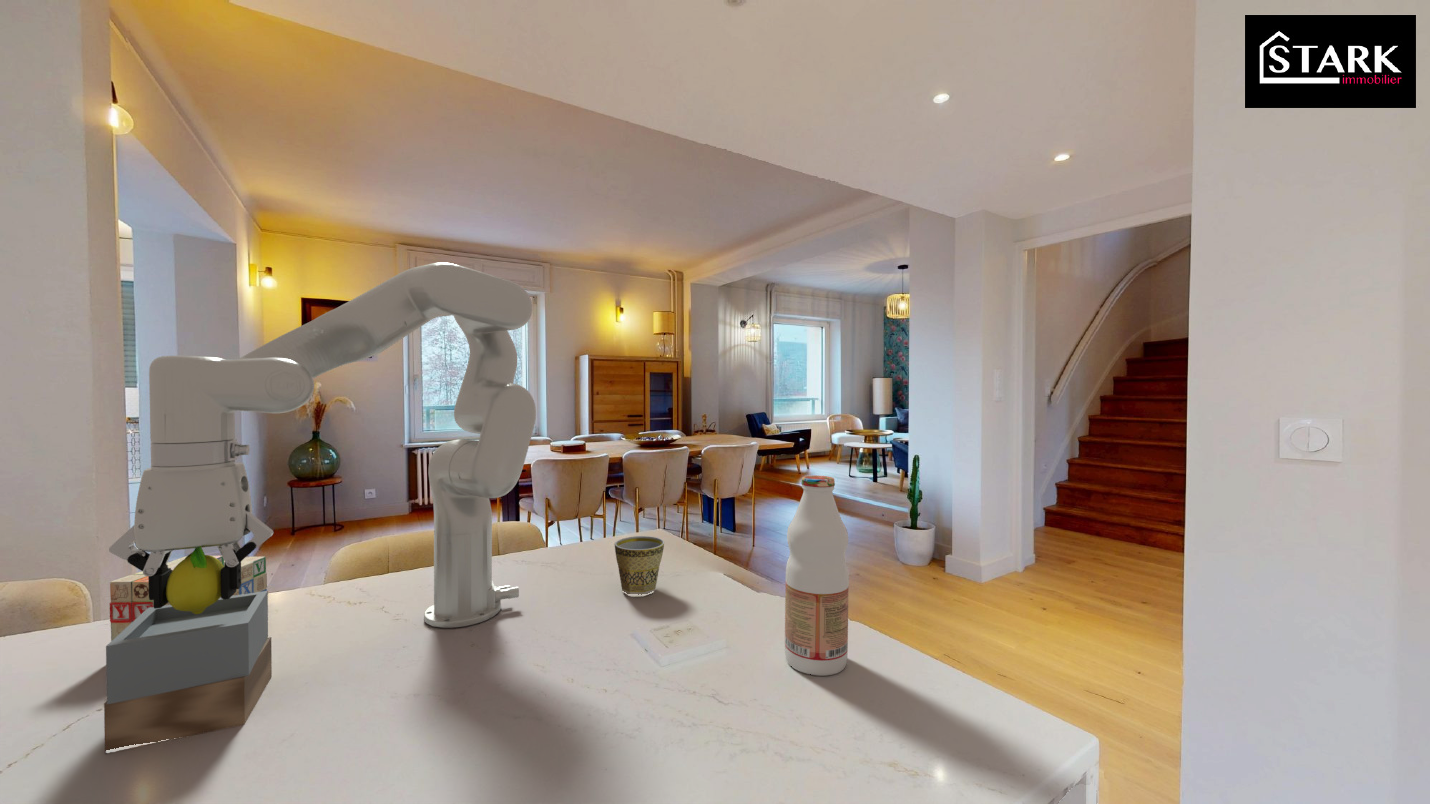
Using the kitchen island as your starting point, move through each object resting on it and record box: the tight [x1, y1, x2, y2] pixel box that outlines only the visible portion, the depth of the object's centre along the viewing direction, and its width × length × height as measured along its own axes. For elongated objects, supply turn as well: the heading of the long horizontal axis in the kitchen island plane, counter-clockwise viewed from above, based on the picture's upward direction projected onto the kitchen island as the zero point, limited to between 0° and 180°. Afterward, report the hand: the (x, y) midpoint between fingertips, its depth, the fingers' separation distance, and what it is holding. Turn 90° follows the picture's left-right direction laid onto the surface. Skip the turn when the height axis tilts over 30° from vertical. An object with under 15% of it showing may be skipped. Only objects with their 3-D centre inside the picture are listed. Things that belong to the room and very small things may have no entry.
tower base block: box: [103, 636, 273, 752], centre depth 67 cm, size 12×12×6 cm
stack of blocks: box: [109, 555, 268, 642], centre depth 90 cm, size 21×6×12 cm, turn 2°
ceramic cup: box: [614, 535, 665, 595], centre depth 111 cm, size 13×10×10 cm
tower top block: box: [105, 590, 269, 704], centre depth 67 cm, size 12×12×6 cm
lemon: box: [166, 546, 224, 614], centre depth 67 cm, size 7×6×10 cm
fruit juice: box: [784, 474, 850, 677], centre depth 81 cm, size 9×9×28 cm
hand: (196, 598), depth 67 cm, fingers closed on lemon, 5 cm apart
